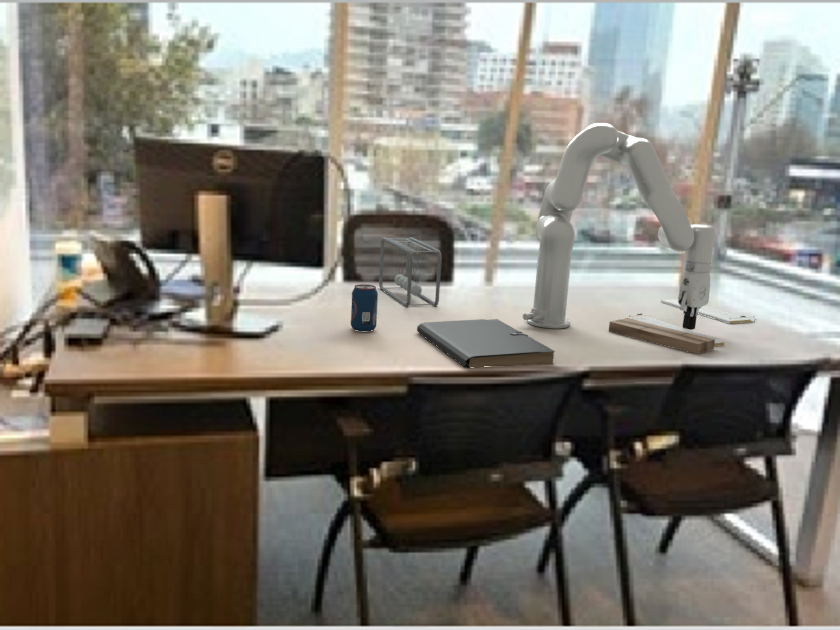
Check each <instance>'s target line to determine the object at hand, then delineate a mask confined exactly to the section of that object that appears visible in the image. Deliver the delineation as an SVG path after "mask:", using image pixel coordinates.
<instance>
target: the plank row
mask: <svg viewBox="0 0 840 630" xmlns="http://www.w3.org/2000/svg"><path fill="white" fill-rule="evenodd" d="M608 332H609V333H614V334H619V335H622V336H625V335H626V337H629V336H630V338H633V337H634V339H637V338H638V339H637V340H641V339H642V340H641V341H644V340H646V341H645V342H648V341H651V342H650V343H652V342H654V343H653V344H656V343H658V344H657V345H660V344H662V345H661V346H663V345H666V346H665V347H667V346H670V347H669V348H671V347H674V348H673V349H675V348H677V349H676V350H679V349H681V350H680V351H682V350H684V352H686V351H688V352H687V353H690V352H692V353H691V354H694V353H695V354H694V355H699V354H702V352H703V353H706V352H709V351H713V350H714V349H715V348H714V347H715V346H714V343H715V339H716V338H713V339H711V338H712V337H710V338H707V337H708V336H707V337H703V336H699V335H695V334H691V333H686V332H682V331H678V330H674V329H670V328H666V327H662V326H658V325H654V324H650V323H646V322H642V321H638V320H634V319H632V318H630V317H629V318H628V317H626V318H622V319H621V318H620V319H617V320H611V321H609V325H608Z"/></svg>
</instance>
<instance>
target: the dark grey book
mask: <svg viewBox="0 0 840 630" xmlns="http://www.w3.org/2000/svg"><path fill="white" fill-rule="evenodd" d="M416 331H417V333H418V332H419V333H420V334H419V333H418V334H419V335H421V334H422V335H423V336H424V338H425V337H426V338H427V339H428V340H427V339H426V338H425V339H426V340H427V341H429V340H430V341H431V343H432V342H433V343H434V344H435V345H434V344H433V343H432V344H433V345H434V346H436V345H437V346H438V347H439V348H438V347H437V346H436V347H437V348H438V349H440V348H441V349H442V350H443V351H442V350H441V349H440V350H441V351H442V352H444V351H445V352H446V353H445V352H444V353H445V354H447V353H448V354H449V355H450V356H449V355H448V354H447V355H448V356H449V357H451V356H452V357H453V358H454V359H453V358H452V357H451V358H452V359H453V360H455V359H456V360H457V361H458V362H457V361H456V360H455V361H456V362H457V363H459V362H460V363H461V364H460V363H459V364H460V365H462V366H463V365H464V366H465V368H466V367H467V366H468V365H469V366H468V368H469V367H484V366H503V367H519V365H521V366H537V365H551V364H554V356H555V352H556V351H555V350H554V349H552V348H550V347H548V346H547V345H544V344H543V343H542V342H540V341H537V340H536V339H534V338H532V337H530V336H529V335H528V334H525V333H523V331H519V330H518V329H516V328H514V327H513V326H511V325H508V324H507V323H506V322H504V321H501V320H500V319H498V318H494V319H486V318H485V319H482V318H480V319H464V320H445V321H444V320H443V321H427V322H421V323H420V324H419V325H417V327H416ZM422 335H421V336H422ZM423 336H422V337H423ZM430 341H429V342H430ZM466 363H467V364H468V365H467V364H466ZM466 365H467V366H466ZM516 365H518V366H516ZM464 366H463V367H464ZM484 368H485V367H484Z"/></svg>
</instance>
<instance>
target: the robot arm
mask: <svg viewBox="0 0 840 630" xmlns="http://www.w3.org/2000/svg"><path fill="white" fill-rule="evenodd" d="M598 157H603V158H605V159H608V160H610V161H613V162H615V163H618V164H621V165H624V166H626V167H628V170H629V172H630V174H631V176H632V179H633V181H634V183H635V185H636V188H637V191H638V193H639V195H640V197H641V199H642V200H643V203H645V205H646V206H647V207H648V208H649V209H650V210H651V211H652V213H654V215H655V217H656V219H657V220H658V222H659V224H660V227H659V228H658V232H657V238H658V240H659V242H660V243H661V244H662V245H664V247H667V248H669V249H670V250H673V251H676V252H684V258H683V266H682V272H683V273H682V275H681V280H680V285H679V288H678V295H677V299H678V303H679V305H681V307H680V308H679V310H680V311H682V315H683V321H682V328H684V329H687V330H690V331H694V330H695V329H696V326H697V325H696V323H697V316H698V315H699V314H698V311H699V309H700V308H701V307H702V306H708V305H707V304H709V301H710V293H711V292H710V290H711V267H712V260H713V259H712V258H713V251H714V244H715V237H716V229H715V227H714V226H712V225H710V224H703V223H693V224H691V223H690V220H689V218H688V215H687V213H686V211H685V208H684V207H683V206H682V205H683V204H682V203H681V202H680V200H679V198H678V196H677V195H676V193H675V191H674V190H673V187H672V186H671V184H670V182H669V179H668V177H667V175H666V173H665V170H664V168H663V165H662V164H661V161H660V158H659V155H658V153H657V151H656V149H655V147H654V145H653V143H652V142H651V141H650V140H648V139H647V138H643V137H637V136H633V135H631V134H627V133H624V132H622V131H619V130H617V128H616V127H615V126H613V125H612V124H610V123H608V122H594V123H592V124H589V125H588V126H586V127H585V129H584V130H582V131H581V132H579V133H577V134H576V135H575V136H574V137H573V138H572V139H571V140H570V142H568V145H567V146H566V148H565V150H564V152H563V155H562V157H561V160H560V164H559V166H558V170H557V173H556V176H555V178H554V179H553V180H552V181H550V182H549V184H548V185H547V187H546V189H545V191H544V194H543V198H542V201H541V205H540V208H539V209H540V210H539V213H538V217H537V221H536V228H535V231H536V235H537V237H538V239H539V248H538V252H537V254H538V255H537V260H536V261H537V263H536V272H535V273H536V275H535V284H534V285H535V287H534V295H533V296H534V297H533V307H532V308H531V309H530V310H531V311H530V312H526V313H524V314H523V315H522V319H523V320H524V321H526V322H527V323H528V324H529V325H531V326H535V327H538V328H544V329H545V328H546V329H564V328H568V327H570V326H571V321H570V320H569V319H567V318H566V314H567V306H568V305H567V303H568V295H569V293H568V292H569V282H570V273H571V272H570V271H571V263H572V257H573V250H574V245H575V239H576V238H575V237H576V234H575V233H576V232H575V228H574V226H573V224H572V222H571V218H572V216H573V215H572V214H573V212H574V211H576V210H577V209H578V208H579V207H580V206H581V203H582V201H583V197H584V193H585V189H586V185H587V181H588V177H589V174H590V171H591V169H592V167H593V166H592V165H593V163H594V162H595V161H596V159H597V158H598ZM687 304H688V305H687Z"/></svg>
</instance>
